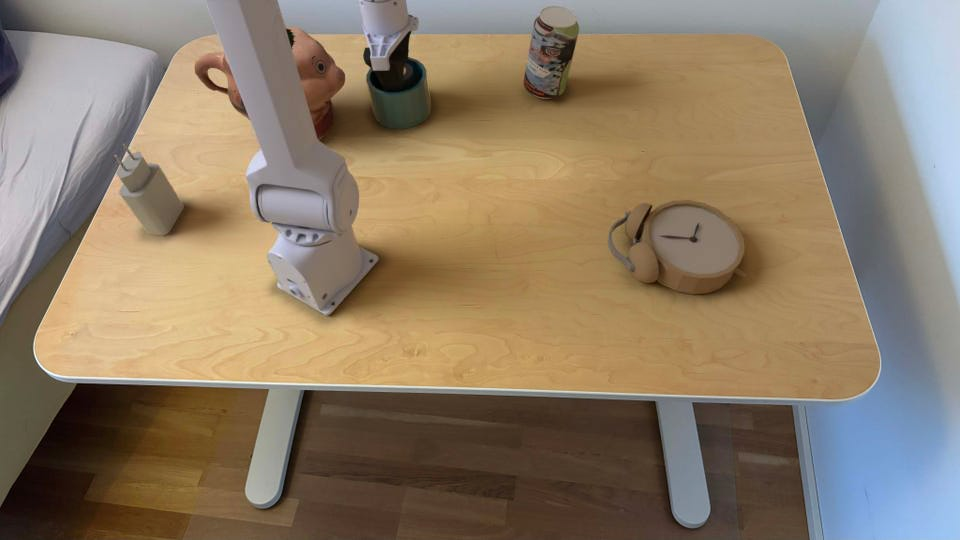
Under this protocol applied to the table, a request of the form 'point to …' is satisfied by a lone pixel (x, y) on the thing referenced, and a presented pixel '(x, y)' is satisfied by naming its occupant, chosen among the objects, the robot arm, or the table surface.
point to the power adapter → (148, 194)
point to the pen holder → (401, 100)
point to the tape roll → (408, 77)
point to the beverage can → (551, 52)
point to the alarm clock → (681, 246)
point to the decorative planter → (314, 73)
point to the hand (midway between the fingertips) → (397, 81)
